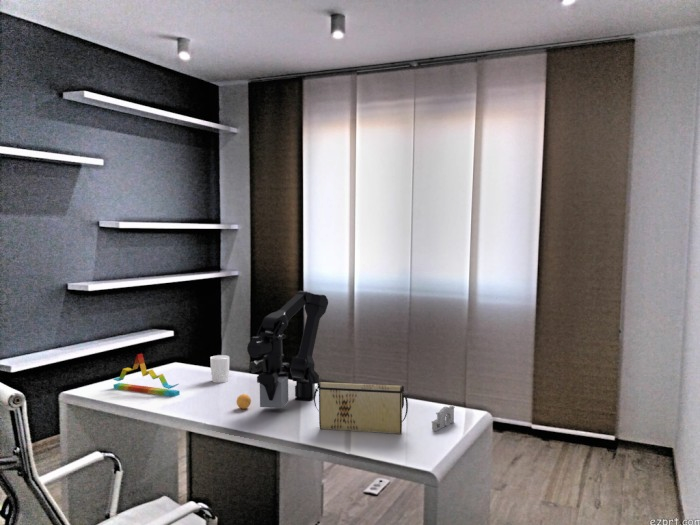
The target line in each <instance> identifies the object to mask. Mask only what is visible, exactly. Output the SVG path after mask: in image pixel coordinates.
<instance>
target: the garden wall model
mask: <svg viewBox="0 0 700 525" xmlns="http://www.w3.org/2000/svg"><path fill="white" fill-rule="evenodd" d="M435 414H436V415H437V416H436V419H434V420H433V421H432V420H431V429H432V432H433V431H434V432H437V431H438V430H440V429H443V428H445V427H448V426H450V425H451V424H452V423H454V421H455V406H454V405H453V404H452V405H450V406H444V407H442V408H441V409H440V410H439V411H438V412H435Z"/></svg>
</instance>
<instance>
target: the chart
mask: <svg viewBox="0 0 700 525" xmlns="http://www.w3.org/2000/svg"><path fill="white" fill-rule="evenodd" d="M139 367H140V368H139ZM138 368H139V369H140V371H141V376H142V377H146V376H148V375H149V376H150V377H151V379H152V380H156V379H159V381H160V383H161V385H162V387H163V388H161V387H154V386H153V387H152V386H147V385H138V384H132V383H131V384H130V383H123V382H121V381H123V380H124V379H125V377H126V374H127V373H128V372H131V371H134V370H137V369H138ZM113 380H114V381H116V382H117V383H114V384H113V389H114V390H115V389H116V390H120V391H129V392H136V393H143V394H152V395H157V396H165V397H166V396H167V397H174V398H176V397H177V396H180V390H179V389H177V390H176V389H172V388H175V387H176V386H178V385H180V384H179V383H176V384H173V385H171V384H169V383H168V381H167V380H166V377H165V375H164V374H163V373H160V374H156V372H155V371H154V370H153V369H150V370H147V366H146V364H145V359H144V354H143V353H138V354H136V358H135V360H134V364H133V366H132V368H131V367H125V368H122V371H121V373H120V375H119V376H117V377H114V378H113Z"/></svg>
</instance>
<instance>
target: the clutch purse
mask: <svg viewBox="0 0 700 525" xmlns="http://www.w3.org/2000/svg"><path fill="white" fill-rule="evenodd" d="M316 384H317V385H316V386H315V393H314V399H313V402H314V407H315V409H317V411H318V420H319V422H318V424H319V429H320V430H322V429H324V430H338V431H339V430H341V431H355V432H373V433H387V434H388V433H389V434H401V435H402V433H403V421H405V419H406V417H407V415H408V407H409V404H408V397H407V396H408V395H407V393H408V391H407V390H405V387H404V385H390V384H372V383H371V384H369V383H367V384H366V383H349V382H345V383H344V382H327V381H326V382H325V381H323V382H322V381H318V382H317V383H316ZM317 392H318V408H317V402H316V396H317ZM404 406H405V414H404V418H403V408H404Z"/></svg>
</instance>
